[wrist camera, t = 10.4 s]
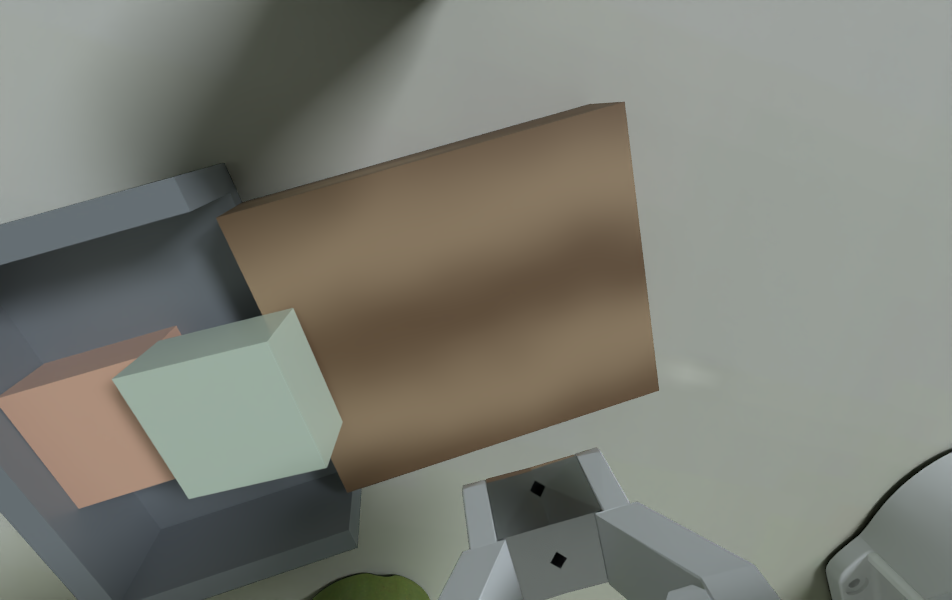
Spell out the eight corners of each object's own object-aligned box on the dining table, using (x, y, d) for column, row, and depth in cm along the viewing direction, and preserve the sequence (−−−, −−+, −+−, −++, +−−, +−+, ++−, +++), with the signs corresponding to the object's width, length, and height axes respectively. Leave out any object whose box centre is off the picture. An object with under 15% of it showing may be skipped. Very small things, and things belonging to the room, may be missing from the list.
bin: (362, 470, 23) (357, 547, 19) (157, 537, 23) (106, 632, 18) (224, 162, 17) (173, 176, 13) (-58, 240, 17) (-203, 281, 13)
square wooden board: (627, 358, 24) (659, 390, 21) (352, 446, 23) (347, 492, 20) (589, 104, 19) (624, 101, 16) (241, 202, 18) (215, 218, 15)
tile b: (232, 427, 20) (212, 467, 18) (114, 463, 20) (78, 508, 18) (176, 325, 18) (146, 355, 16) (44, 363, 18) (-6, 399, 16)
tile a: (342, 422, 18) (327, 467, 16) (221, 450, 19) (188, 499, 16) (293, 307, 17) (266, 341, 14) (158, 340, 17) (111, 379, 15)
